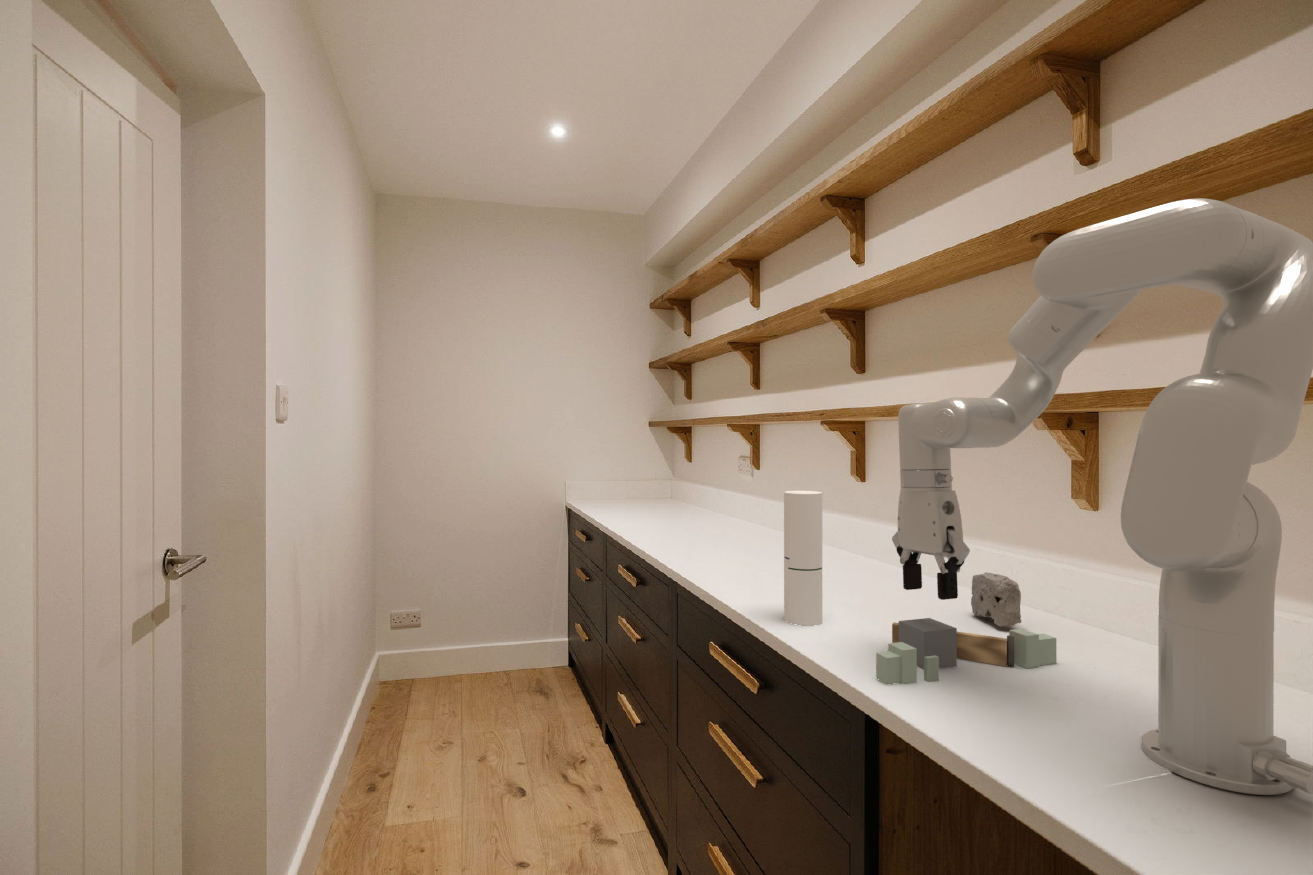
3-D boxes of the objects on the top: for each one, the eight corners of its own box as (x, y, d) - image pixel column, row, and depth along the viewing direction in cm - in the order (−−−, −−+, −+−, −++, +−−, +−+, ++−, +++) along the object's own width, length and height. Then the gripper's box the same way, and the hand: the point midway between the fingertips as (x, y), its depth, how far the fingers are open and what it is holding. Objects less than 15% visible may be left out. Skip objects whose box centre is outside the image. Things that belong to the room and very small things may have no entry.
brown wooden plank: (1015, 662, 101) (1015, 633, 101) (1014, 667, 99) (1014, 637, 99) (895, 643, 111) (895, 616, 111) (892, 647, 109) (892, 620, 109)
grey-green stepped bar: (1059, 664, 101) (1059, 632, 100) (889, 687, 91) (889, 652, 91) (1041, 657, 104) (1041, 626, 104) (874, 679, 95) (874, 645, 95)
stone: (1027, 628, 115) (1024, 571, 117) (993, 625, 116) (991, 568, 118) (998, 627, 127) (995, 576, 130) (967, 624, 128) (965, 573, 131)
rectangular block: (956, 667, 100) (956, 628, 100) (924, 671, 98) (924, 631, 98) (929, 654, 106) (929, 617, 106) (898, 658, 104) (898, 621, 104)
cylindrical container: (809, 616, 128) (809, 490, 128) (829, 626, 121) (829, 493, 121) (777, 619, 125) (777, 491, 125) (796, 630, 119) (796, 494, 119)
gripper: (987, 481, 95) (992, 603, 94) (909, 479, 112) (912, 582, 111) (945, 483, 93) (950, 607, 92) (871, 480, 109) (875, 585, 109)
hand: (929, 592), depth 102 cm, fingers open, 7 cm apart
